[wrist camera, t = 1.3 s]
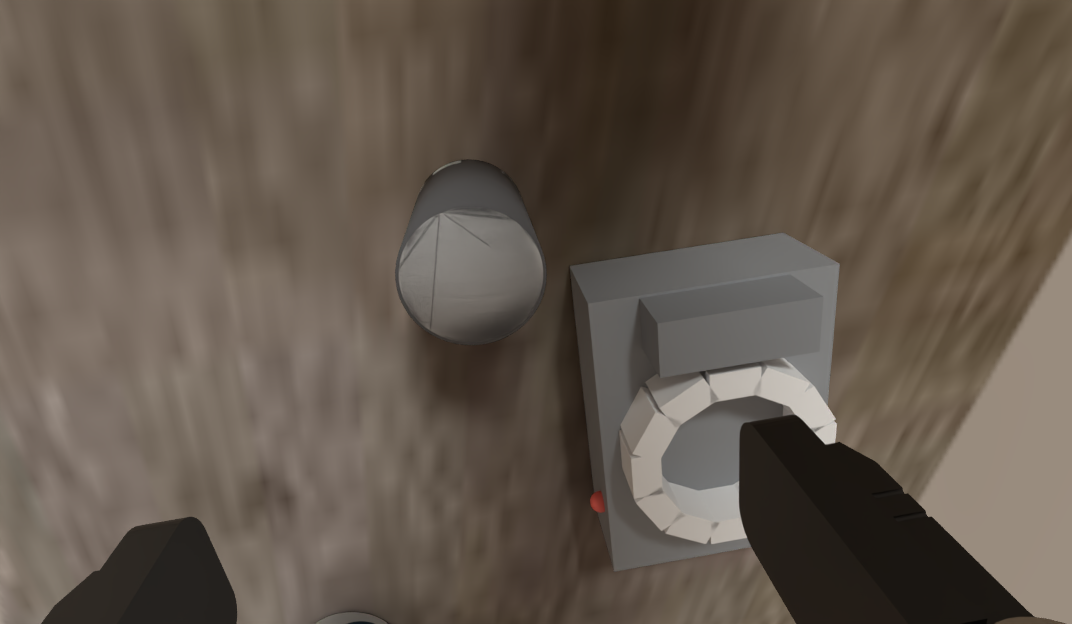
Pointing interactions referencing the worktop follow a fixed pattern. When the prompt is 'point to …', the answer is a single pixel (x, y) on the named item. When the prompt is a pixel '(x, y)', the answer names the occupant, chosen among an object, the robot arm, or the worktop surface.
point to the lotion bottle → (351, 619)
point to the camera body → (695, 382)
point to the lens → (470, 256)
